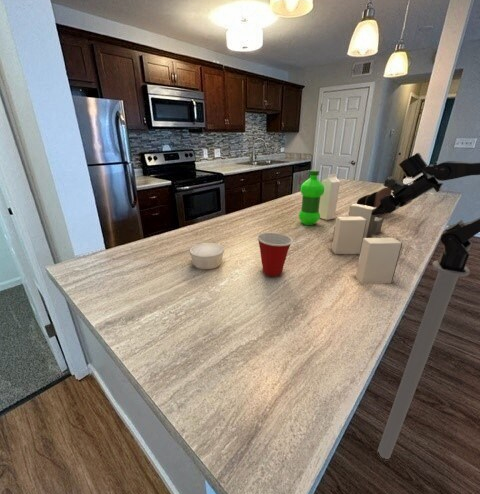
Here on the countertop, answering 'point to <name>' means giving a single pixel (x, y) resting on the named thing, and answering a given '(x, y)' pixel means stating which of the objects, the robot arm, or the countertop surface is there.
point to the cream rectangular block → (364, 212)
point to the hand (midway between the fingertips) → (377, 211)
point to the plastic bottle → (311, 199)
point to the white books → (366, 250)
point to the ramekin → (207, 255)
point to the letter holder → (374, 198)
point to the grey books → (374, 226)
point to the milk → (329, 197)
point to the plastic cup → (273, 252)
